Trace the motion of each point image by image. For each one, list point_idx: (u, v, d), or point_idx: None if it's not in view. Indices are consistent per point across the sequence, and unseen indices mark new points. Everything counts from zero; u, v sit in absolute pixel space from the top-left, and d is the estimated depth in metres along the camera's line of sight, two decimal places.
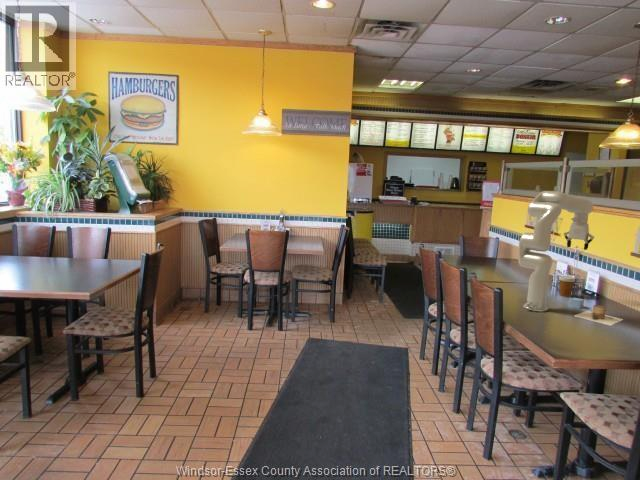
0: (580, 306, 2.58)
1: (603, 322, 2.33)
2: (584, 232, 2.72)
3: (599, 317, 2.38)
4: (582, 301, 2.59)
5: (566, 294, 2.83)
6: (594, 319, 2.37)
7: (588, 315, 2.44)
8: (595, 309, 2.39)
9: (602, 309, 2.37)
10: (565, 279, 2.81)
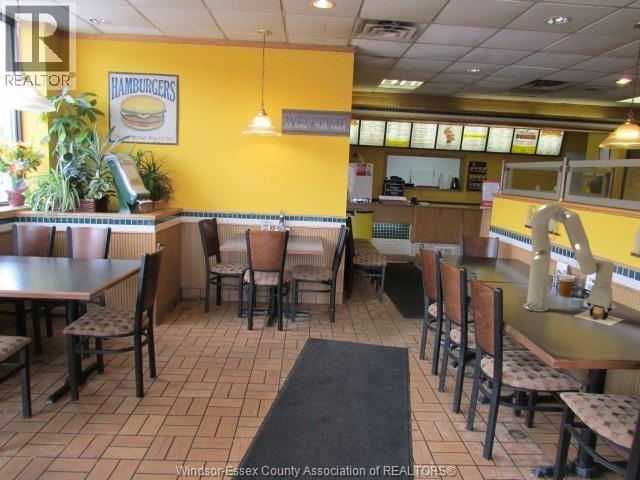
0: (580, 306, 2.58)
1: (603, 322, 2.33)
2: (607, 298, 2.34)
3: (599, 317, 2.38)
4: (582, 301, 2.59)
5: (566, 294, 2.83)
6: (594, 319, 2.37)
7: (588, 315, 2.44)
8: (595, 309, 2.39)
9: (602, 309, 2.37)
10: (565, 279, 2.81)
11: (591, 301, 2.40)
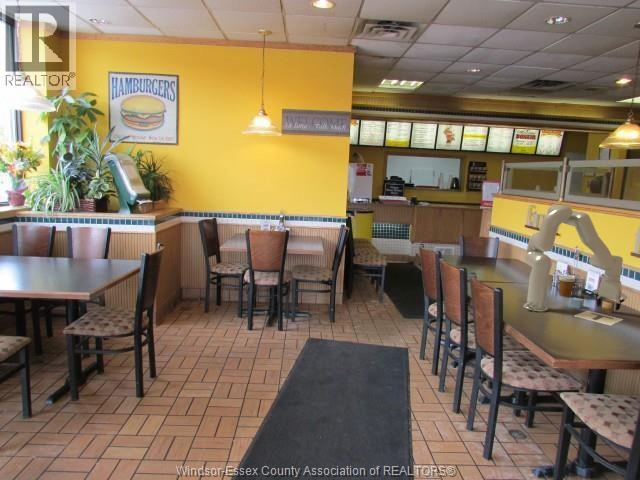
0: (580, 306, 2.58)
1: (603, 322, 2.33)
2: (616, 291, 2.47)
3: (608, 312, 2.51)
4: (582, 301, 2.59)
5: (566, 294, 2.83)
6: (594, 319, 2.37)
7: (588, 315, 2.44)
8: (604, 304, 2.52)
9: (611, 304, 2.50)
10: (565, 279, 2.81)
11: (601, 294, 2.53)
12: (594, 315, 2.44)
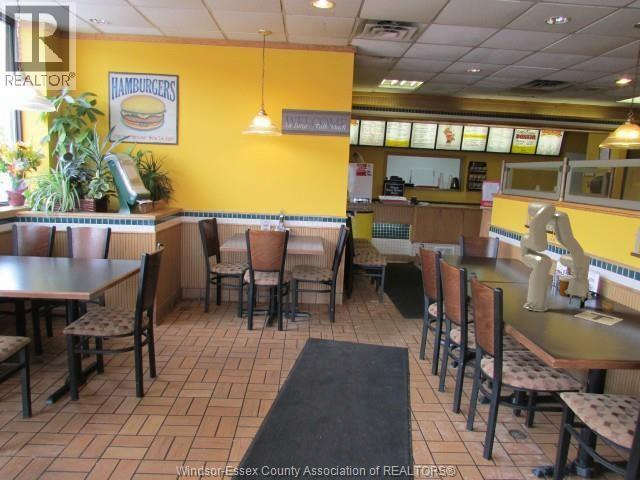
0: None
1: (603, 322, 2.33)
2: (584, 289, 2.54)
3: (608, 312, 2.51)
4: None
5: (566, 294, 2.83)
6: (594, 319, 2.37)
7: (588, 315, 2.44)
8: (604, 304, 2.52)
9: (611, 304, 2.50)
10: (565, 279, 2.81)
11: (570, 292, 2.60)
12: (594, 315, 2.44)
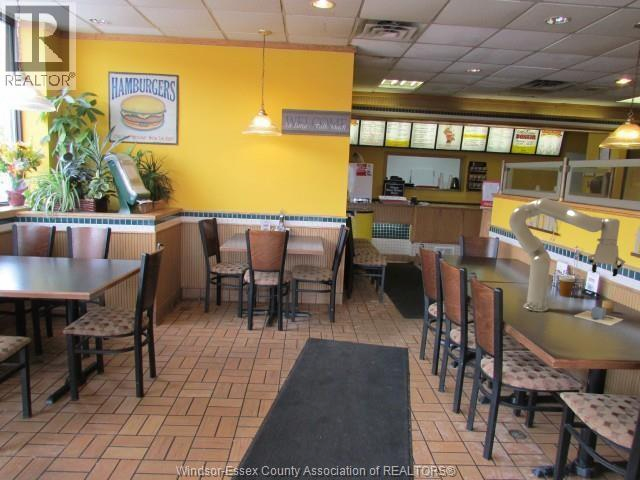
0: (602, 316, 2.38)
1: (603, 322, 2.33)
2: (613, 256, 2.31)
3: (608, 312, 2.51)
4: (605, 311, 2.39)
5: (566, 294, 2.83)
6: (594, 319, 2.37)
7: (588, 315, 2.44)
8: (604, 304, 2.52)
9: (611, 304, 2.50)
10: (565, 279, 2.81)
11: (596, 260, 2.37)
12: None
